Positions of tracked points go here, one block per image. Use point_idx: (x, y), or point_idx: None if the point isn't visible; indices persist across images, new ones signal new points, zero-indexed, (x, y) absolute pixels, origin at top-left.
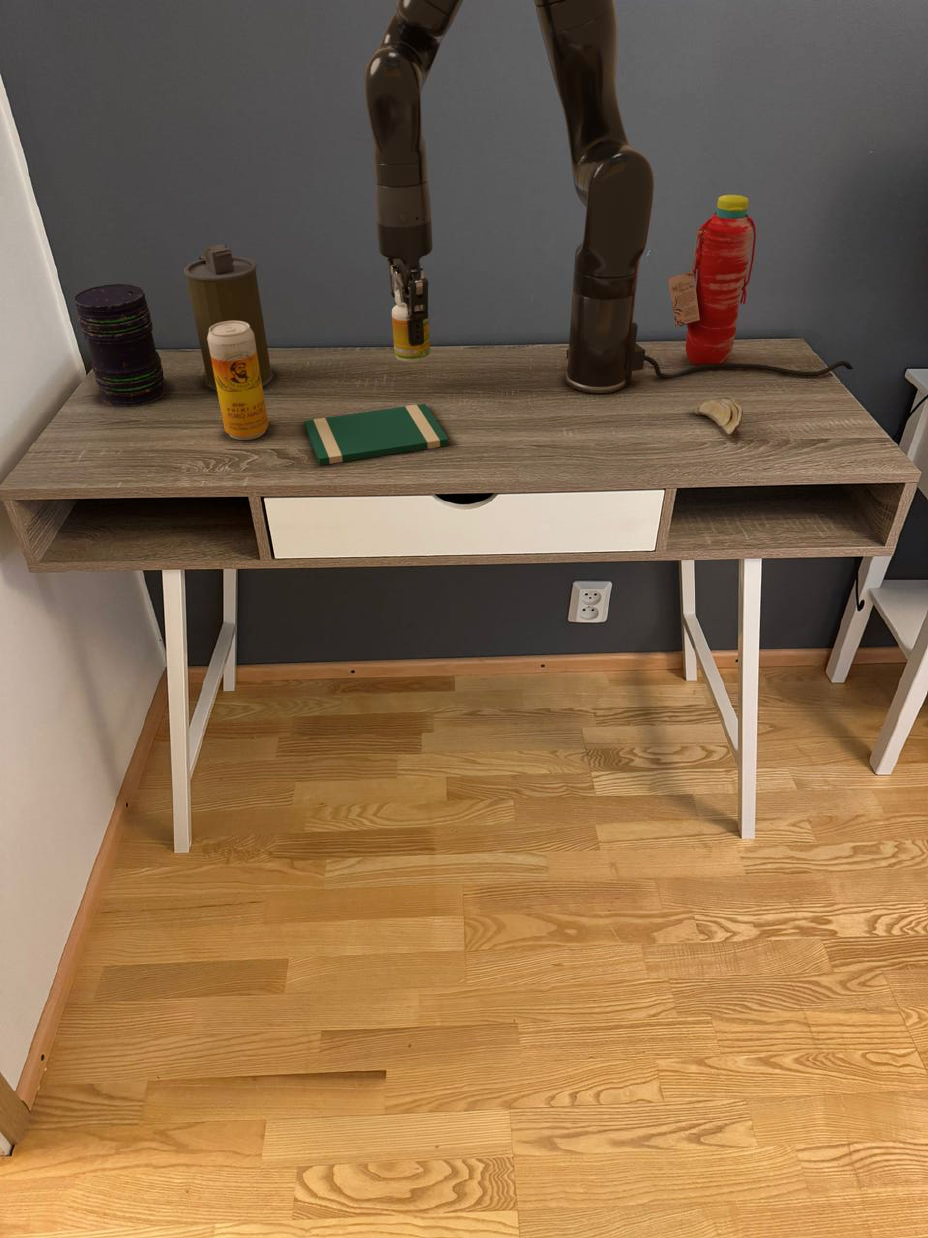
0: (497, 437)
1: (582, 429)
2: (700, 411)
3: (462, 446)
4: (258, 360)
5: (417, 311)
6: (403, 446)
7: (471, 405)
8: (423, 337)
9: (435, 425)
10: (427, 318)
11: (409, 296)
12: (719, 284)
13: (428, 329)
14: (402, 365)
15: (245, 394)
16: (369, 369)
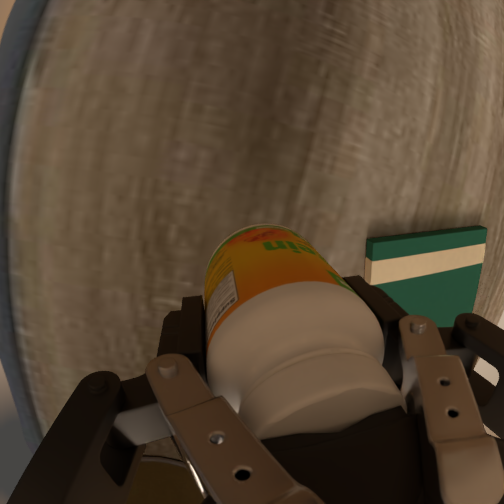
0: (481, 142)
1: (474, 14)
2: None
3: (486, 205)
4: (190, 498)
5: (471, 366)
6: (475, 296)
7: (375, 135)
8: (367, 284)
9: (452, 240)
10: (470, 313)
11: (501, 430)
12: None
13: (318, 259)
14: (105, 254)
15: None
16: (122, 328)
